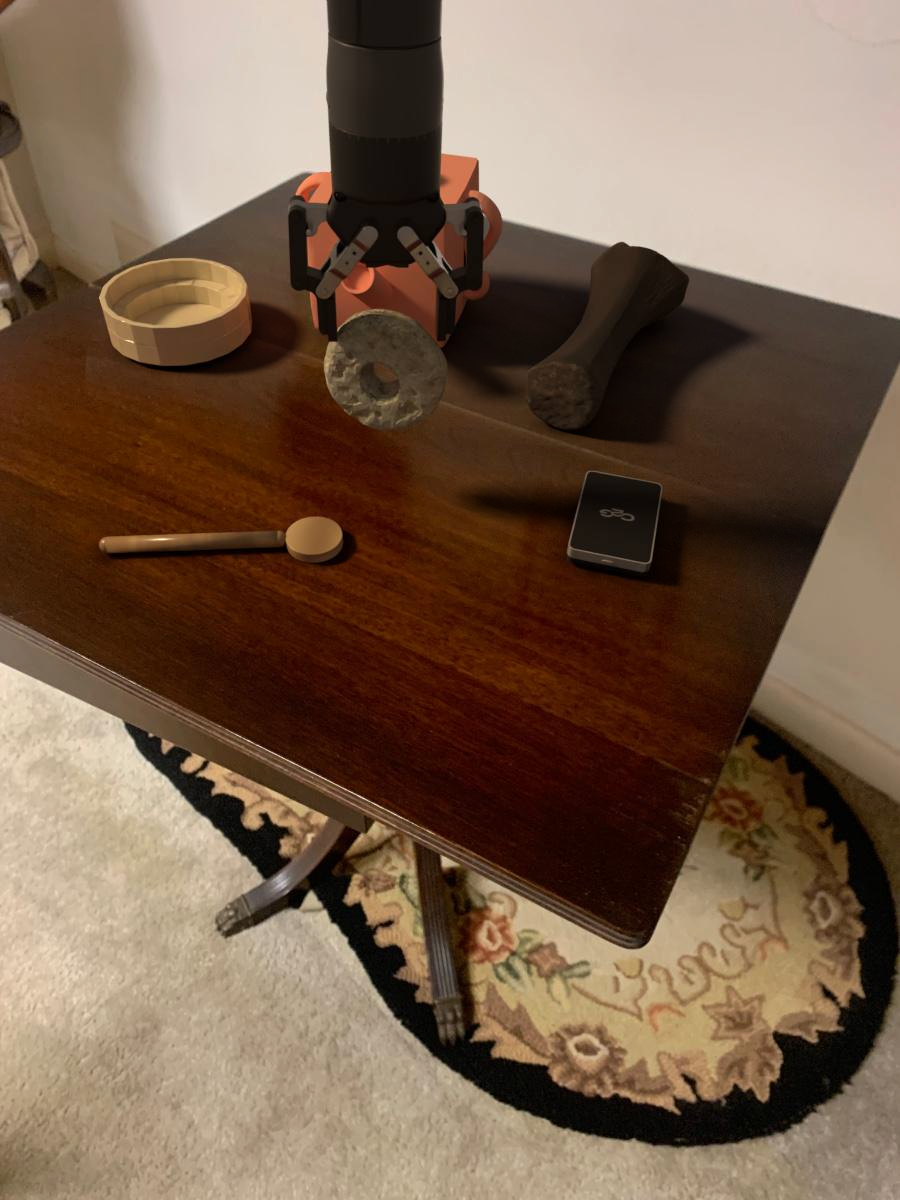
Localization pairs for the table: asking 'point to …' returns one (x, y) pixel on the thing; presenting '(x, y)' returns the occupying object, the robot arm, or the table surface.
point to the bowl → (177, 311)
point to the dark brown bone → (604, 333)
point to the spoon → (242, 541)
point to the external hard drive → (615, 523)
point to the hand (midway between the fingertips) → (387, 336)
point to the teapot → (409, 285)
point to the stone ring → (398, 349)
